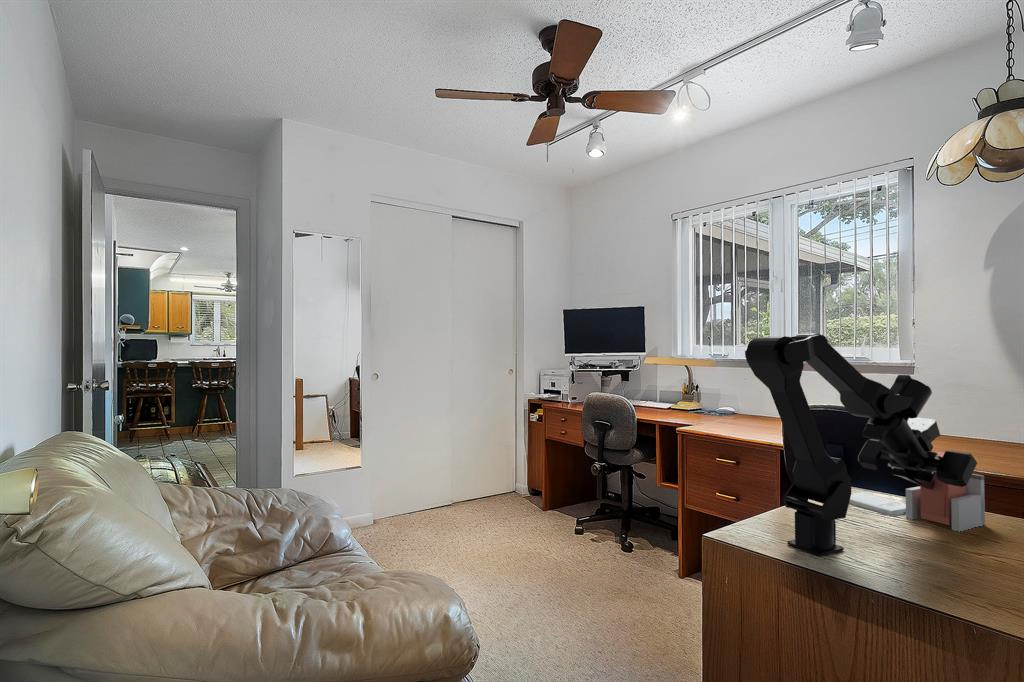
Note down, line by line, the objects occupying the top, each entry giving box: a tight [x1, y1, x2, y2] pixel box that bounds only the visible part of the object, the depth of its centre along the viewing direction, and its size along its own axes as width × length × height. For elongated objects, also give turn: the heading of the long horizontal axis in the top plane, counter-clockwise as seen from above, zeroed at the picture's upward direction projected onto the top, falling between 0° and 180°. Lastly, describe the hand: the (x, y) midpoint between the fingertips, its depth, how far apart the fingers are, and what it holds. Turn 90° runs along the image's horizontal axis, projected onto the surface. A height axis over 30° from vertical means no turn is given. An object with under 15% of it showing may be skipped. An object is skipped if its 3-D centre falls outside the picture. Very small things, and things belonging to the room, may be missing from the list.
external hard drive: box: [849, 491, 906, 517], centre depth 120 cm, size 2×8×12 cm
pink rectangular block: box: [919, 451, 966, 526], centre depth 109 cm, size 7×5×13 cm
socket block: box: [905, 473, 986, 533], centre depth 109 cm, size 9×9×10 cm
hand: (931, 487), depth 107 cm, fingers closed, pressing on pink rectangular block
